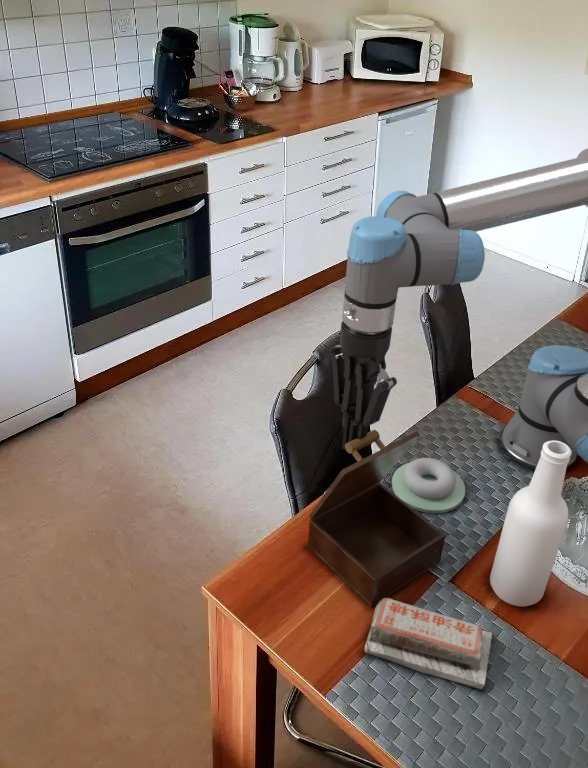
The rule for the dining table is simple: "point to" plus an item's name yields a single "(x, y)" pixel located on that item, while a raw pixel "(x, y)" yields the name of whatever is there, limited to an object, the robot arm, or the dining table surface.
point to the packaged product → (430, 642)
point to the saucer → (425, 503)
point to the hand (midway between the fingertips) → (352, 447)
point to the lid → (363, 470)
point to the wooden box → (375, 543)
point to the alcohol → (532, 531)
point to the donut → (425, 486)
